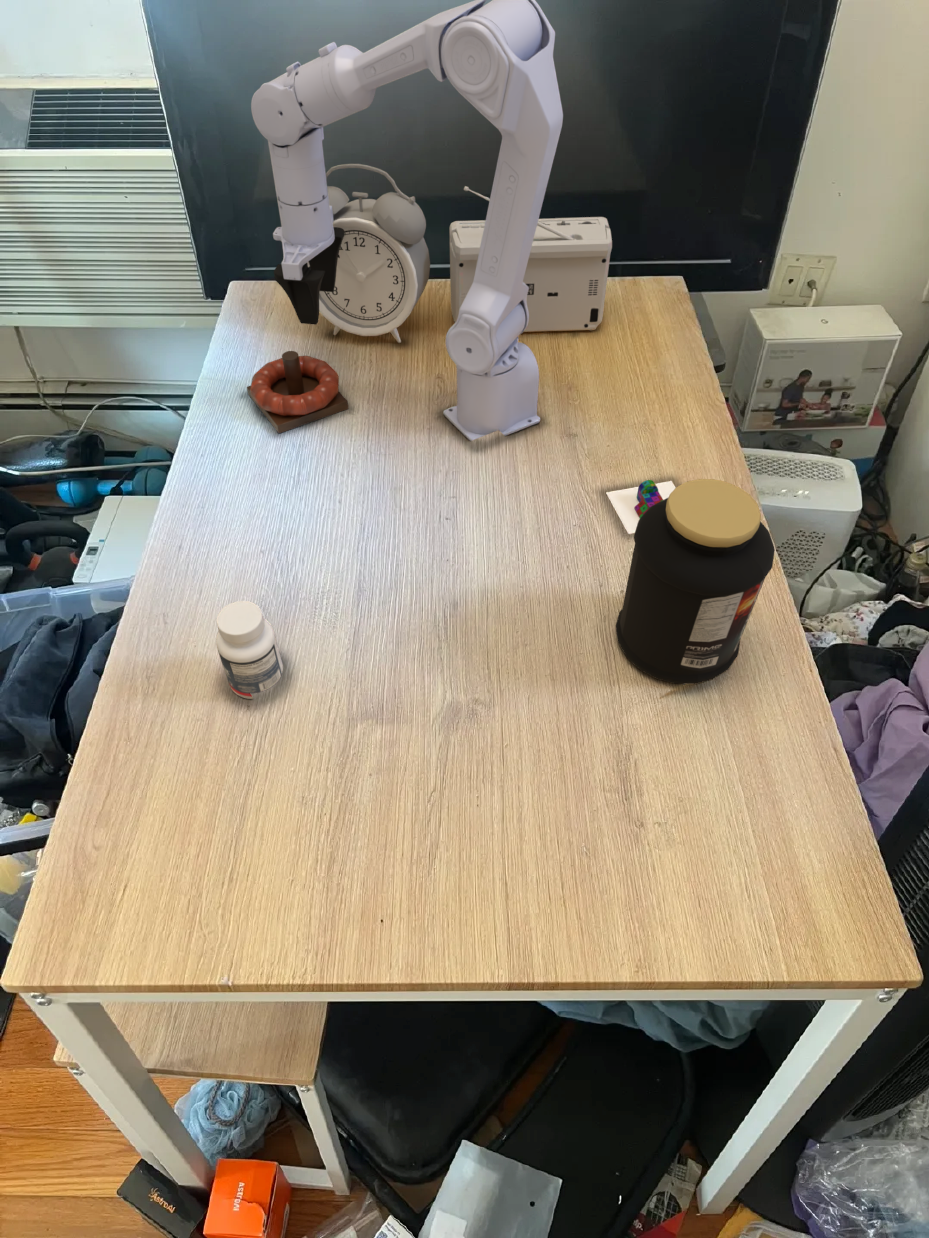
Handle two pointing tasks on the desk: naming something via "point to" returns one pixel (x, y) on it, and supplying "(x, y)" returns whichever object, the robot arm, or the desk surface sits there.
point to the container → (693, 581)
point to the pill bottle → (248, 649)
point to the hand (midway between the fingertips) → (317, 306)
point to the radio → (546, 270)
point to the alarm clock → (376, 260)
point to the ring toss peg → (297, 386)
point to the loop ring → (295, 403)
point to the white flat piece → (638, 501)
